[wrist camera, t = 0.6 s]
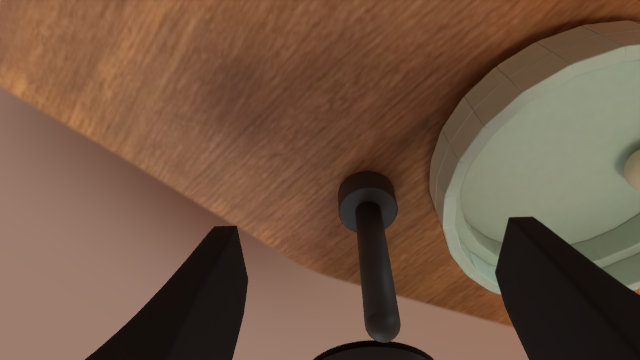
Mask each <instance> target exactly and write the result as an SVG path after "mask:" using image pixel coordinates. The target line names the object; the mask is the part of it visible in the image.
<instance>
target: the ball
mask: <svg viewBox="0 0 640 360" xmlns="http://www.w3.org/2000/svg"><path fill="white" fill-rule="evenodd" d="M624 176H625V179H626V181H627V183H628V184H629V185H630V186H631V187H632V188H633V189H635V190H637V191H638V192H640V150H638V151H636V152H634V153H633V154H632V155H631V156H630V157H629V158H628V159H627V161H626V163H625V166H624Z"/></svg>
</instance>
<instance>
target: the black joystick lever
mask: <svg viewBox="0 0 640 360" xmlns="http://www.w3.org/2000/svg"><path fill="white" fill-rule="evenodd" d="M338 206H339V217H340V219H341V221H342V223H343V224H344V225H345V226H346V227H347V228H349V229H350V230H352V231H355V232H357V239H358V250H359V262H360V273H361V285H362V295H363V308H364V319H365V327H366V331H367V332H368V334H369V336H370V337H371V338H373V339H374V340H376V341H378V342H389V341H391V340H393V339H394V338H395V337H396V336H397V335H398V333H399V330H400V317H399V312H398V306H397V300H396V294H395V288H394V282H393V277H392V271H391V265H390V259H389V253H388V248H387V242H386V236H385V230H384V229H385V228H387V227H388V226H390V225H391V224H392V222H393V221H394V219H395V218H396V215H397V211H398V207H397V202H396V198H395V193H394V189H393V186H392V184H391V183H390V181H389V180H388V179H387V178H385V177H384V176H382V175H380V174H378V173H374V172H361V173H357V174H354V175H352V176H350V177H349V178H347V179H346V180H345V181H344V182H343V184H342V185H341V187H340V189H339V192H338Z"/></svg>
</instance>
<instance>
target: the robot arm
mask: <svg viewBox="0 0 640 360" xmlns="http://www.w3.org/2000/svg"><path fill="white" fill-rule="evenodd" d="M495 275H496V279H497V282H498V285H499V289H500V292H501V295H502V298H503V301H504V305H505V308H506V310H507V312H508V315H509V317H510V319H511V321H512V323H513V326H514V328H515V330H516V332H517V334H518V337H519V339H520V341H521V343H522V345H523V347H524V350H525V352H526V354H527V356H528V358H529V360H640V295H638V294H637V293H635V292H634V291H632V290H631V289H629V288H628V287H627V286H625V285H624V284H622V283H621V282H619V281H618V280H617V279H615V278H614V277H612V276H611V275H610V274H608V273H607V272H606V271H604V270H603V269H601V268H600V267H599V266H597V265H596V264H595V263H593V262H592V261H591V260H589V259H588V258H587V257H585V256H584V255H583V254H581V253H580V252H579V251H578V250H576V249H575V248H574V247H572V246H571V245H570V244H569V243H567V242H566V241H565V240H563V239H562V238H561V237H559V236H558V235H557V234H556V233H554V232H553V231H552V230H550V229H549V228H548V227H546V226H545V225H544V224H542V223H541V222H540V221H538V220H537V219H536V218H534V217H533V216H532V217H509V219H508V222H507V226H506V230H505V234H504V238H503V242H502V246H501V250H500V254H499V258H498V262H497V266H496V270H495ZM247 285H248V276H247V272H246V267H245V263H244V258H243V253H242V249H241V244H240V239H239V235H238V230H237V226H215V227H214V228H213V229H212V230H211V231H210V232H209V233H208V234H207V236H206V237H205V238H204V239H203V240H202V242H201V243H200V244H199V245H198V246H197V248H196V249H195V250H194V251H193V252H192V254H191V255H190V256H189V257H188V258H187V260H186V261H185V262H184V263H183V264H182V265H181V267H180V268H179V269H178V270H177V271H176V272H175V274H174V275H173V276H172V277H171V278H170V279H169V280H168V281H167V283H166V284H165V285H164V286H163V287H162V288H161V289H160V290H159V291H158V292H157V293H156V294H155V295H154V297H152V298H151V300H150V301H149V302H148V303H147V304H146V305H145V306H144V307H143V308H142V309H141V310H140V311H139V312H138V313H137V314H136V315H135V316H134V317H133V318H132V319H131V320H130V321H129V322H128V323H127V324H126V325H125V326H123V327H122V328H121V329H120V330H119V331H118V332H117V333H116V334H115V335H114V336H112V337H111V338H110V339H109V340H108V341H107V342H106V343H105V344H103V345H102V346H101V347H100V348H99V349H98V350H97V351H95V352H94V353H93V354H91V355H90V356H89V357H88V358H86V359H85V360H232V358H233V354H234V350H235V346H236V343H237V339H238V334H239V331H240V327H241V323H242V319H243V315H244V307H245V301H246V293H247Z"/></svg>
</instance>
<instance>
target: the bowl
mask: <svg viewBox="0 0 640 360" xmlns="http://www.w3.org/2000/svg"><path fill="white" fill-rule="evenodd" d="M638 150H640V22H636V21H630V20H629V21H627V20H626V21H616V22H607V23H598V24H588V25H583V26H579V27H576V28H573V29H571V30H568V31H565V32H562V33H559V34H556V35H554V36H551V37H548V38H545V39H542V40H539V41H537V42H535V43H533V44H531V45H530V46H528V47H526V48H525V49H523V50H521V51H520V52H518V53H516V54H515V55H513V56H512V57H510V58H508V59H507V60H505V61H503V62H502V63H500V64H498V65H497V67H494V68H493V69H492V70H491V71H490V72H489V73H488V74H487V75H486V76H485V77H484V78H483V79H482V80H481V81H480V82H478V83H477V84H476V85H475V86H474V87H473V88H472V89H471V90H470V91H469V92H468V93H467V94H466V95H465V96H464V97H463V98H462V99H461V101H460V102H459V104H458V105H457V107H456V108H455V110H454V111H453V113H452V114H451V116H450V117H449V119H448V120H447V122H446V123H445V125H444V126H443V128H442V130H441V133H440V136H439V138H438V141H437V144H436V147H435V150H434V153H433V156H432V158H431V163H430V186H429V190H430V195H431V198H432V201H433V205H434V208H435V211H436V215H437V218H438V221H439V223H440V226H441V229H442V232H443V235H444V238H445V241H446V243H447V246H448V249H449V252H450V254H451V256H452V257H453V258H454V260H455V261H456V262H457V264H458V265H459V266H460V268H461V269H462V270H463V271H464V273H465V274H466V275H467V276H468V277H470V278H471V279H472V280H474V281H475V282H477V283H478V284H480V285H481V286H483V287H484V288H486V289H487V290H489V291H491V292H494V293H497V294H500V295H501V292H500V289H499V285H498V282H497V279H496V275H495V270H496V266H497V262H498V258H499V254H500V250H501V246H502V242H503V238H504V234H505V230H506V226H507V222H508V219H509V217H532V216H533V217H534V218H536V219H537V220H538V221H540V222H541V223H542V224H544V225H545V226H546V227H548V228H549V229H550V230H552V231H553V232H554V233H556V234H557V235H558V236H559V237H561V238H562V239H563V240H565V241H566V242H567V243H569V244H570V245H571V246H572V247H574V248H575V249H576V250H578V251H579V252H580V253H581V254H583V255H584V256H585V257H587V258H588V259H589V260H591V261H592V262H593V263H595V264H596V265H597V266H599V267H600V268H601V269H603V270H604V271H606V272H607V273H608V274H610V275H611V276H612V277H614V278H615V279H617V280H618V281H619V282H621V283H622V284H624V285H625V286H627V287H628V288H629V289H631V290H632V291H634V290H637V289H639V288H640V192H638V191H637V190H635V189H633V188H632V187H631V186H630V185H629V184H628V183H627V181H626V179H625V176H624V166H625V163H626V161H627V159H628V158H629V157H630V156H631V155H632V154H633V153H634V152H636V151H638Z"/></svg>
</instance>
